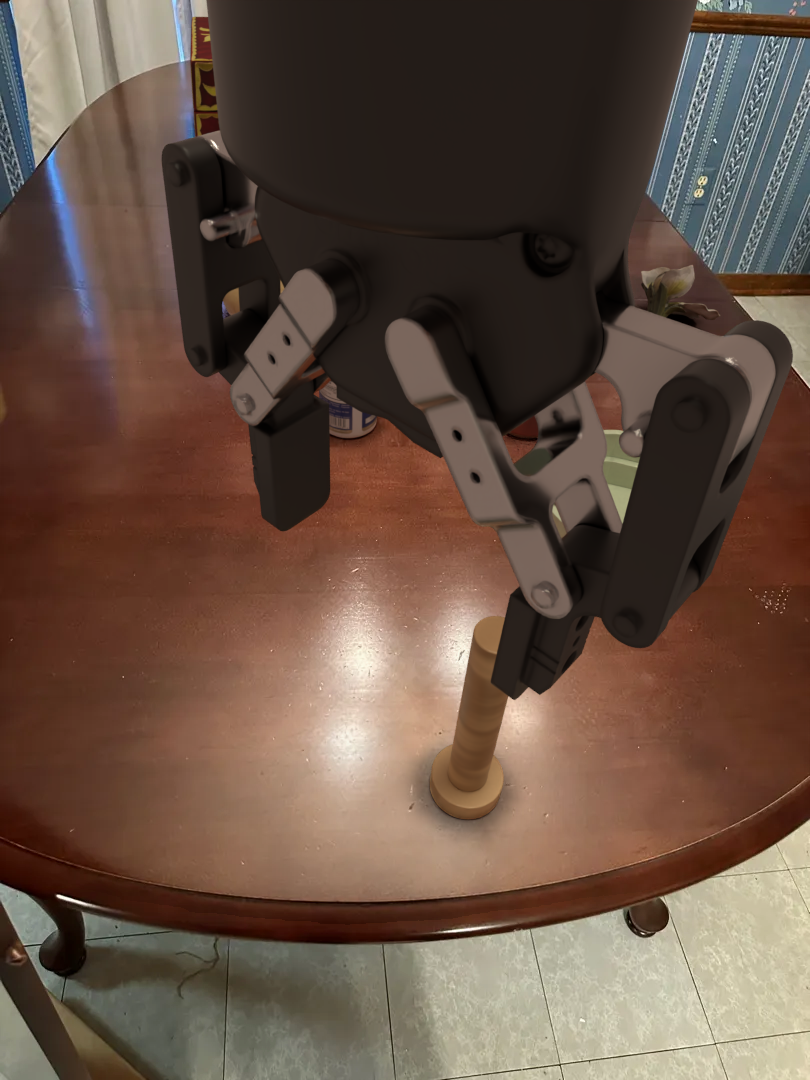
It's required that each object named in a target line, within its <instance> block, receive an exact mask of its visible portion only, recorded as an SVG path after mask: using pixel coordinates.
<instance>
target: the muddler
mask: <svg viewBox="0 0 810 1080" xmlns="http://www.w3.org/2000/svg"><path fill="white" fill-rule="evenodd" d="M504 620H505V616H500V615H490V616H486V617H484V618H482V619H480V620H479V621H478V622H476V624H475V626H474V628H473V632H472V637H471V643H470V648H469V653H468V659H467V664H466V669H465V670H466V671H465V675H464V681H463V686H462V693H461V697H460V703H459V709H458V713H457V719H456V725H455V731H454V736H453V742H452V744H449V745H447V746H445V747H444V748H443V749H442V750H440V751H439V752H438V754H437V755H436V756H435V757H434V760H433V762H432V765H431V769H430V776H429V790H430V794H431V796H432V799H433V801H434V802H435V804H436V805H437V806H438V808H440V809H441V810H442V811H443V812H444V813H446V814H447V815H449V816H451V817H453V818H457V819H459V820H460V819H461V820H476V819H480V818H482V817H484V816H486V815H488V814H489V813H491V812H492V811H493V810H494V809H495V808H496V806H497V805H498V803H499V800H500V797H501V794H502V792H503V791H502V790H503V787H504V781H505V780H504V779H505V776H504V771H503V767H502V764H501V763H500V761H499V759H498V758H497V756H495V754H494V753H495V751H496V747H497V742H498V738H499V734H500V730H501V727H502V723H503V719H504V716H505V715H504V714H505V710H506V707H507V703H508V700H509V696H507V695H506V694H505V693H503V692H502V691H500V690H499V689H498V688H496V687H495V686H493V685H492V684H491V677H492V672H493V668H494V664H495V659H496V655H497V650H498V646H499V642H500V637H501V633H502V628H503V624H504Z"/></svg>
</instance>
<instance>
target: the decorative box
mask: <svg viewBox="0 0 810 1080" xmlns="http://www.w3.org/2000/svg"><path fill="white" fill-rule="evenodd" d="M190 26H191V27H190V51H189V52H190V53H189V54H190V55H189V63H190V65H189V66H190V81H191V94H192V95H191V97H192V109H193V125H194V127H193V128H194V137H197V136H200V135H204V134H208V133H212V132H215V131H219V130H220V128H219V120H218V110H217V100H216V91H215V81H214V71H213V61H212V51H211V41H210V31H209V21H208V16H192V17H191V25H190Z"/></svg>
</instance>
